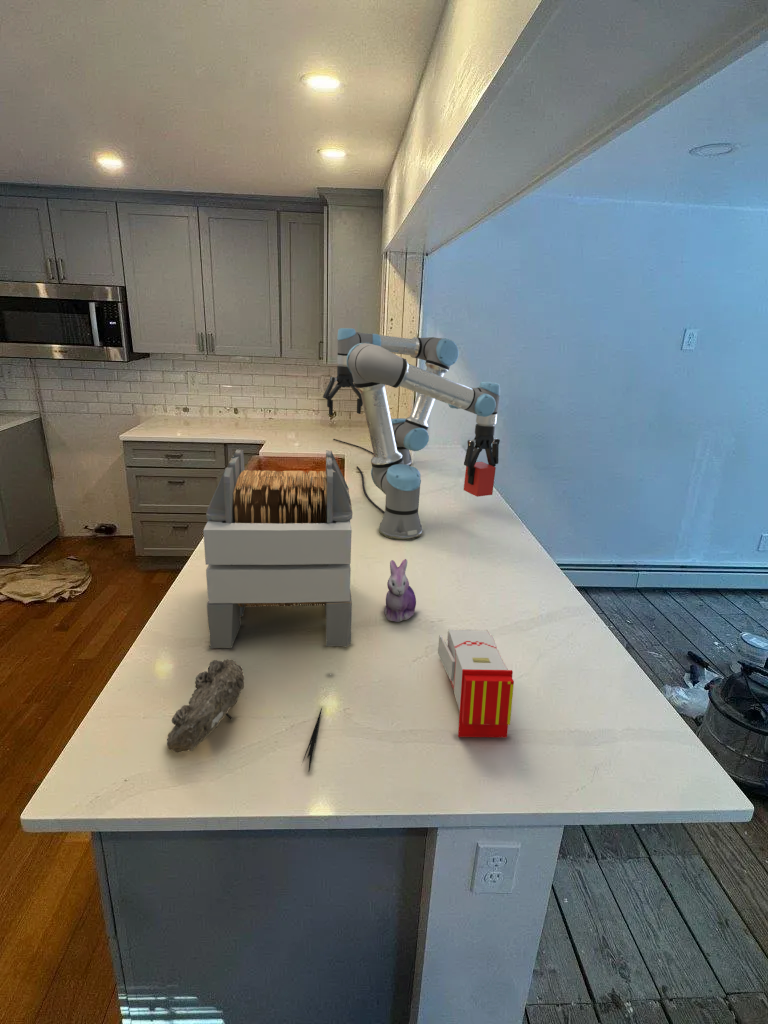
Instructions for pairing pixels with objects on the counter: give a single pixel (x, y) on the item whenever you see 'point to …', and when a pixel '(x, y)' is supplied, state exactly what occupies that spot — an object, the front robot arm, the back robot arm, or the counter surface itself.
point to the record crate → (278, 547)
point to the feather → (313, 740)
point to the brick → (481, 480)
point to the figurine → (399, 594)
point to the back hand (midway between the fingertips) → (344, 414)
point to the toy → (478, 682)
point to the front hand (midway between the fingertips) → (479, 482)
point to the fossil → (206, 705)
